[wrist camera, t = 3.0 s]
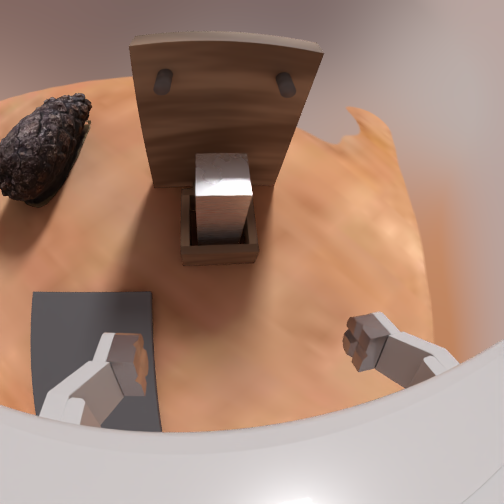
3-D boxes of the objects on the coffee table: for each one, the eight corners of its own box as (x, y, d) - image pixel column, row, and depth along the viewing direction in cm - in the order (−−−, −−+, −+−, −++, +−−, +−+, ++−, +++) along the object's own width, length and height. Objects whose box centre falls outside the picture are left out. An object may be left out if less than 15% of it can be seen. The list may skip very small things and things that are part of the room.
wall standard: (286, 261, 29) (373, 139, 13) (149, 267, 27) (86, 134, 10) (271, 172, 33) (316, 42, 17) (155, 174, 31) (135, 35, 14)
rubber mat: (40, 419, 18) (37, 420, 17) (36, 293, 23) (33, 291, 22) (162, 435, 20) (161, 438, 20) (151, 293, 26) (150, 291, 25)
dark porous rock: (104, 115, 34) (91, 63, 25) (59, 217, 27) (20, 166, 18) (53, 120, 32) (35, 75, 23) (5, 214, 26) (-33, 172, 16)
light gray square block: (237, 249, 29) (252, 194, 20) (198, 250, 28) (195, 195, 19) (234, 215, 30) (247, 153, 21) (197, 216, 29) (195, 153, 20)
